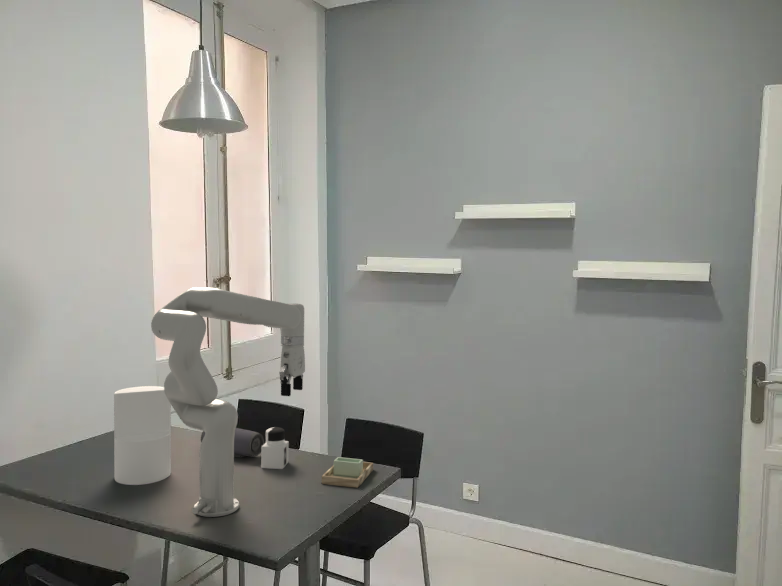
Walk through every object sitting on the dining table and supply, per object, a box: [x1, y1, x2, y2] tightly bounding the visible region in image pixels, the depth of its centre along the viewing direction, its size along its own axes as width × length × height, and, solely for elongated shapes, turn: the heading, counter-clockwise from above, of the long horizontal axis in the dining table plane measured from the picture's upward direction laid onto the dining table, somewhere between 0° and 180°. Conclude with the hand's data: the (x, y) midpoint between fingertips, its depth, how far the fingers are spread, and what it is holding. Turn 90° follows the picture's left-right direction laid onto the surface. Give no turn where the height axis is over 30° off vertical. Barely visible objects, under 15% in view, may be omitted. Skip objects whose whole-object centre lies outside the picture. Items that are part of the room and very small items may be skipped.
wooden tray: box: [321, 461, 374, 489], centre depth 203 cm, size 17×12×2 cm
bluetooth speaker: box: [200, 427, 265, 458], centre depth 223 cm, size 23×9×10 cm, turn 65°
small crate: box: [333, 456, 364, 478], centre depth 203 cm, size 4×9×5 cm, turn 76°
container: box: [260, 426, 290, 470], centre depth 213 cm, size 8×8×13 cm
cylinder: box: [113, 385, 172, 486], centre depth 200 cm, size 17×17×28 cm
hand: (291, 392), depth 200 cm, fingers open, 9 cm apart
